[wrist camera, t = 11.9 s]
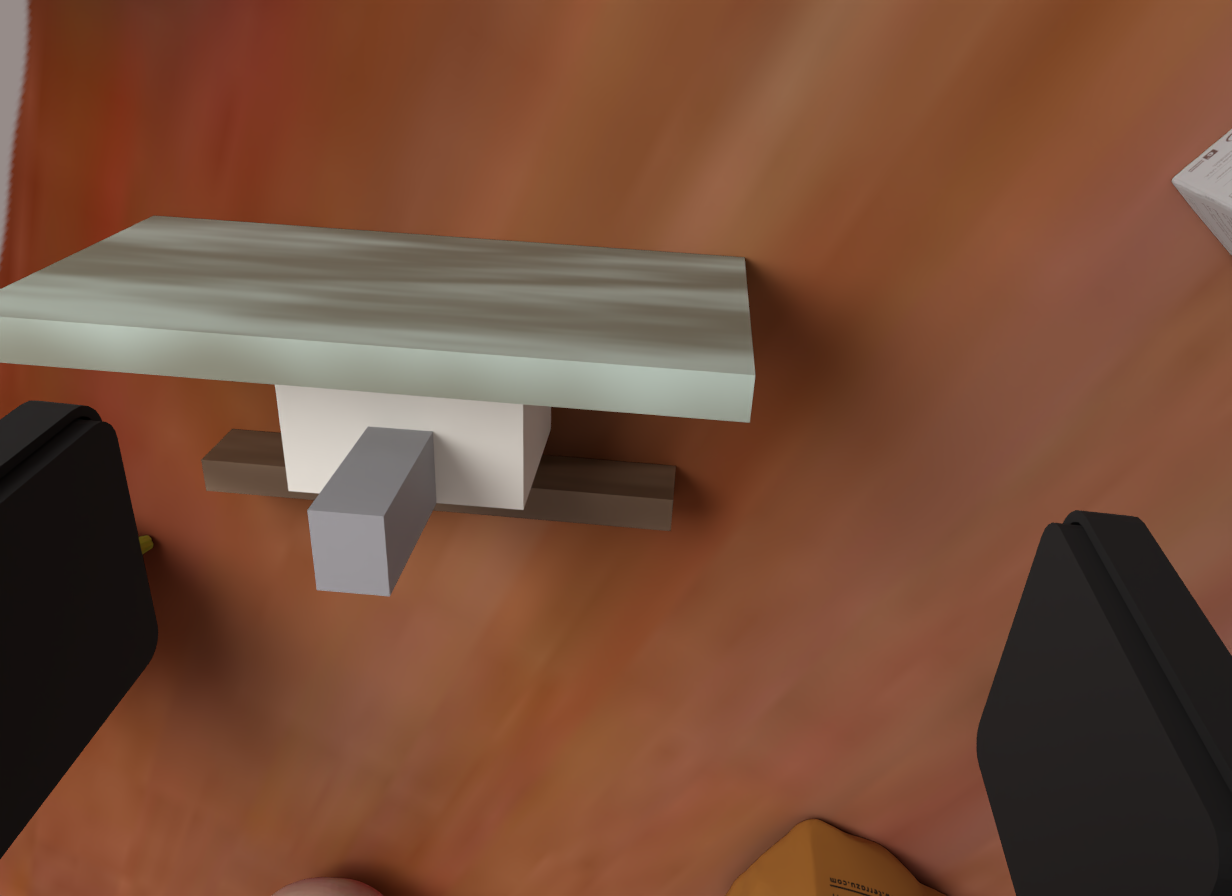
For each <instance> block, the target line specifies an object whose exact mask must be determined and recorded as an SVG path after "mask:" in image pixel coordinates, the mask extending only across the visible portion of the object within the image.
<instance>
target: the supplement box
mask: <svg viewBox="0 0 1232 896" xmlns="http://www.w3.org/2000/svg"><path fill="white" fill-rule="evenodd" d="M1172 183H1173V185H1174V186H1175V187H1176V188H1177V190H1178V191H1179V192H1180V193H1181V195H1182V196H1183V197H1184V199H1185V200H1186V201H1187V202H1188V204H1189V205H1190V206H1191V208H1192V209H1193V210H1194V211H1195V212H1196V214H1197V215H1198V216H1199V217H1200V218H1201V220H1202V221H1203V222H1204V223H1205V224H1206V226H1207V227H1208V228H1209V229H1210V230H1211V232H1212V233H1213V234H1214V235H1215V236H1216V238H1217V239H1218V240H1219V241H1220V242H1221V243H1222V245H1223V246H1224V247H1225V248H1226V249H1227V251H1228V252H1229V253H1230V254H1231V255H1232V129H1231V130H1230V131H1229V132H1228V133H1227V134H1225V135H1224V136H1223V137H1222V138H1220V139H1219V140H1218V141H1217V142H1216V143H1214V144H1213V145H1212V146H1211V147H1209V148H1208V149H1207V150H1206V151H1205V152H1203V153H1202V154H1201V155H1200V156H1199V157H1198V158H1196V159H1195V160H1194V161H1192V162H1191V163H1190V164H1189V165H1187V166H1186V167H1185V168H1184V169H1183V170H1182V171H1180V172H1179V173H1178V174H1177V175H1176V176H1175V177H1174V178H1173V179H1172Z"/></svg>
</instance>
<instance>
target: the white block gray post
mask: <svg viewBox="0 0 1232 896" xmlns="http://www.w3.org/2000/svg"><path fill="white" fill-rule="evenodd" d="M275 389H276V397H277V404H278V412H279V420H280V428H281V436H282V444H283V451H284V459H285V467H286V475H287V483H288V490H289V491H294V492H307V493H319V495H318V496H317V498H316V499H315V500H314V502H313V503H312V504H311V506H310V507H309V509H308V510H307V511H308V519H309V528H310V536H311V544H312V553H313V561H314V570H315V578H316V586H317V590H323V591H334V592H346V593H357V594H369V595H380V596H390V595H391V593H392V591H393V589H394V587H395V585H396V583H397V581H398V579H399V577H400V575H401V573H402V571H403V569H404V567H405V565H406V563H407V561H408V559H409V557H410V555H411V553H412V551H413V549H414V547H415V545H416V543H417V541H418V539H419V537H420V535H421V533H422V531H423V529H424V527H425V525H426V523H427V521H428V519H429V517H430V515H431V513H432V511H433V509H434V507H435V505H436V503H443V504H455V505H468V506H480V507H493V508H505V509H517V510H524V507H525V504H526V501H527V498H528V495H529V492H530V489H531V486H532V483H533V480H534V477H535V474H536V472H537V469H538V466H539V463H540V460H541V457H542V454H543V451H544V448H545V445H546V442H547V439H548V436H549V433H550V430H551V407H549V406H537V405H524V404H512V403H499V402H487V401H475V400H462V399H450V398H437V397H425V396H412V395H400V394H388V393H375V392H363V391H350V390H338V389H325V388H313V387H300V386H288V385H276V384H275Z"/></svg>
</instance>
